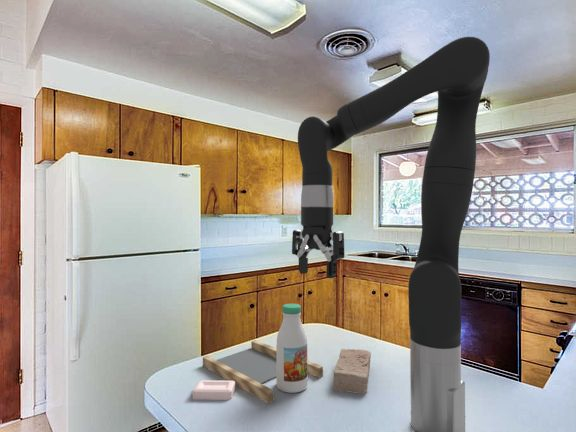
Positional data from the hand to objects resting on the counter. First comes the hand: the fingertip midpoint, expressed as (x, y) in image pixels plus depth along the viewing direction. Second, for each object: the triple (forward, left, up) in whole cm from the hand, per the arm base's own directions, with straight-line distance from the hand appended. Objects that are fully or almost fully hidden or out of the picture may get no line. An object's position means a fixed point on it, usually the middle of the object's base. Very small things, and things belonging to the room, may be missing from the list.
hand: (316, 275), depth 80 cm
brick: (0, -15, -29) cm, 32 cm away
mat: (+24, 0, -28) cm, 37 cm away
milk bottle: (+8, 0, -28) cm, 30 cm away
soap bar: (+19, +16, -29) cm, 38 cm away
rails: (+20, 0, -28) cm, 35 cm away
